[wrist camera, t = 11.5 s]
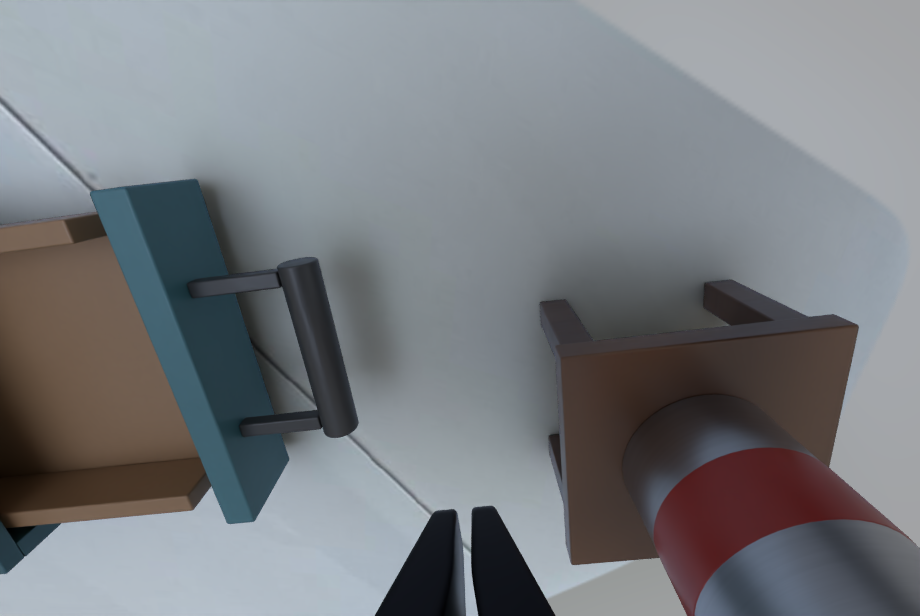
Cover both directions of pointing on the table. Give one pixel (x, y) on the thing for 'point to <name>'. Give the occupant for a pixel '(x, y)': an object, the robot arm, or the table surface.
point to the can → (761, 519)
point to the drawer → (146, 364)
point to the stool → (681, 398)
